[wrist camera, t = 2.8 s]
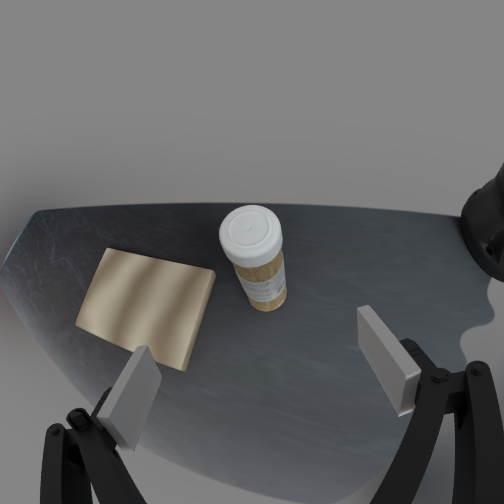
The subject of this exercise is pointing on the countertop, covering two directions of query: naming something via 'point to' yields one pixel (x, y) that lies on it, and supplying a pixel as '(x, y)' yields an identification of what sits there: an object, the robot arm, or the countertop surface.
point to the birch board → (147, 305)
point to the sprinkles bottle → (256, 254)
